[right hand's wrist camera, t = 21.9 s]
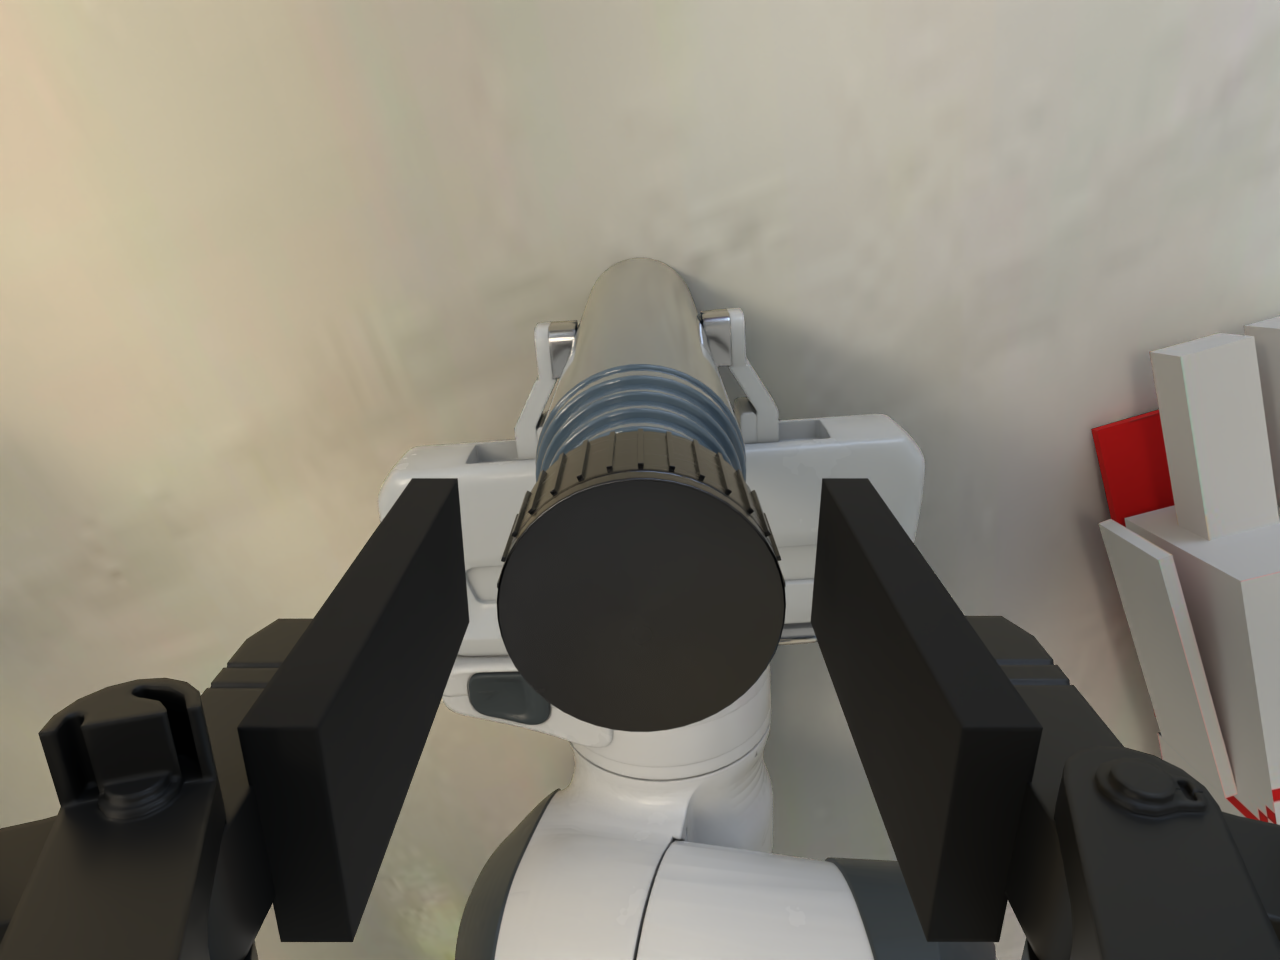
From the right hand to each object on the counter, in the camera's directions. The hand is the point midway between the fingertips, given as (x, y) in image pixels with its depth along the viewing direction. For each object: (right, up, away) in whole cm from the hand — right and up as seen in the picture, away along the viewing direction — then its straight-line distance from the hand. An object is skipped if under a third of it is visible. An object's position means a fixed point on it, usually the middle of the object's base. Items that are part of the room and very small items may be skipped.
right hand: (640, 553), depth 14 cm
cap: (0, -1, -2) cm, 2 cm away
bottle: (0, +8, +22) cm, 24 cm away
